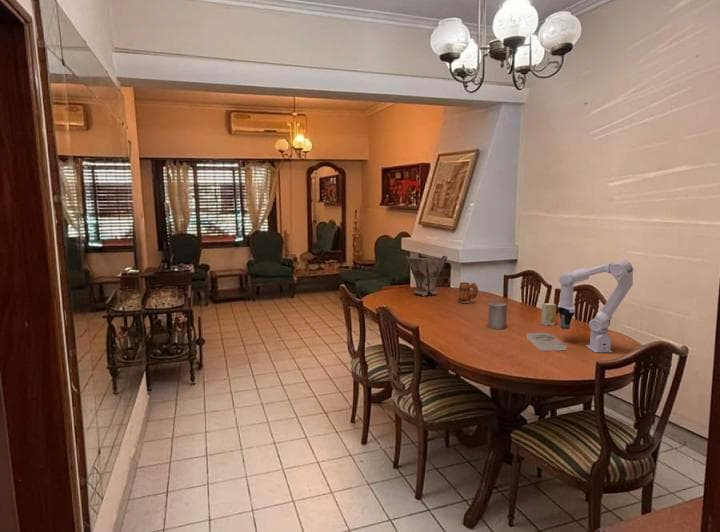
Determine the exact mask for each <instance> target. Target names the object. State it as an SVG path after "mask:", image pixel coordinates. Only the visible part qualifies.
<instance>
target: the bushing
mask: <svg viewBox="0 0 720 532" xmlns="http://www.w3.org/2000/svg"><path fill="white" fill-rule="evenodd" d="M559 328H560V329H562V330H570V329H571V324H570V325H565V321H564V314H563V313H562V314H561V319H560V326H559Z"/></svg>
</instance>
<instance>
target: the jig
mask: <svg viewBox="0 0 720 532" xmlns="http://www.w3.org/2000/svg"><path fill="white" fill-rule="evenodd" d="M526 338H527V340H528V341H529V342H530V343H531V344H533V346H535V347H536V348H537V349H538V350H539V351H540V352H541V351H542V352H544V351H545V352H546V351H552V352H553V351H559V352H560V351H561V350H566V351H567V345H566V344H565V343H564V342H562V340H561V339H558V338H557V337H556V336H555V335H554V334H552V333H551V332H528V333H526Z"/></svg>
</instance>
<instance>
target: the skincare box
mask: <svg viewBox="0 0 720 532" xmlns="http://www.w3.org/2000/svg"><path fill="white" fill-rule="evenodd" d="M556 311H557V304H556V303H553V302H546V303H542V307H541V319H540V320H541V322H540V324H541V325H543V326H545V327H546V326H548V325H549V326H555V325H556ZM549 326H548V327H549Z"/></svg>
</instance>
